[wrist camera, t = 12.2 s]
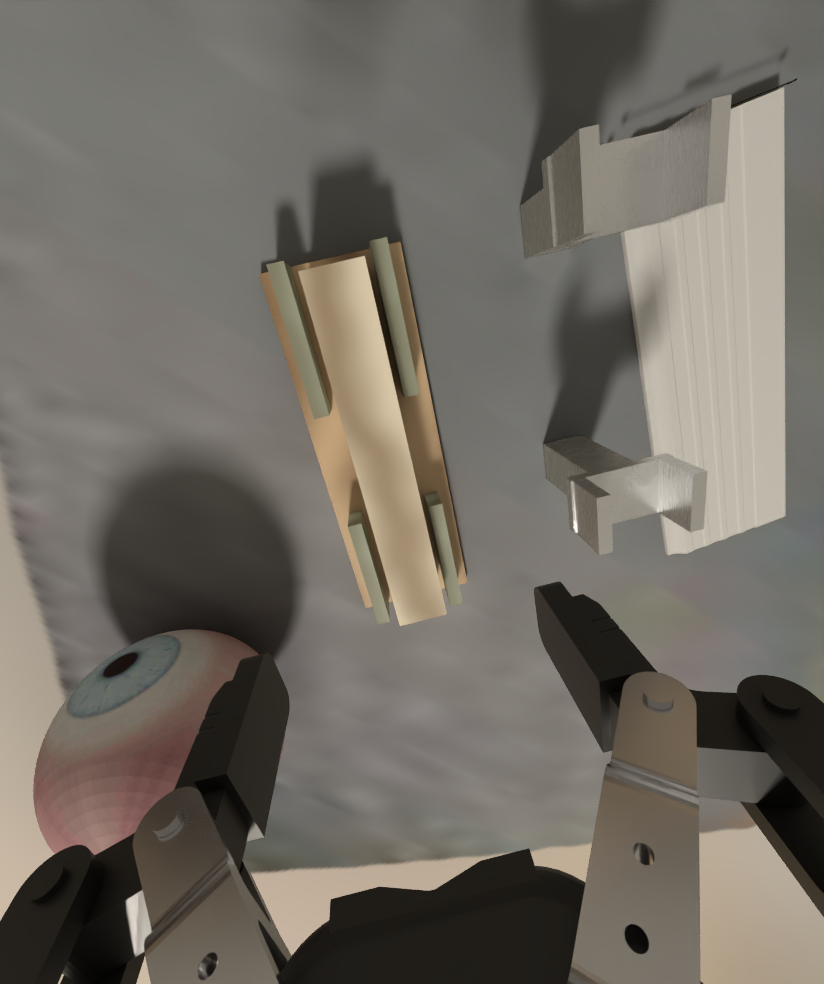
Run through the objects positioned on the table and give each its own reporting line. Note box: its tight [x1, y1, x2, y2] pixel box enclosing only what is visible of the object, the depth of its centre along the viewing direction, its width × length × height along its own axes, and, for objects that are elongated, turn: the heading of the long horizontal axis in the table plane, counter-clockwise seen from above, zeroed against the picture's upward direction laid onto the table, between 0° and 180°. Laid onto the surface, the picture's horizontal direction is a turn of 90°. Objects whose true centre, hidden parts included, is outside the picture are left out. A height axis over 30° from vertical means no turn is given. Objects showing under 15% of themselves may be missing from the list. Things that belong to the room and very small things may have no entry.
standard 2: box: [543, 435, 707, 555], centre depth 28 cm, size 6×4×11 cm, turn 102°
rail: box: [298, 256, 447, 626], centre depth 29 cm, size 4×24×5 cm, turn 12°
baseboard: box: [621, 78, 797, 555], centre depth 31 cm, size 31×3×12 cm
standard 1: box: [520, 94, 732, 259], centre depth 22 cm, size 6×4×11 cm, turn 102°
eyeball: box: [33, 629, 285, 855], centre depth 30 cm, size 15×15×15 cm
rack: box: [259, 237, 467, 624], centre depth 30 cm, size 9×26×3 cm, turn 12°
